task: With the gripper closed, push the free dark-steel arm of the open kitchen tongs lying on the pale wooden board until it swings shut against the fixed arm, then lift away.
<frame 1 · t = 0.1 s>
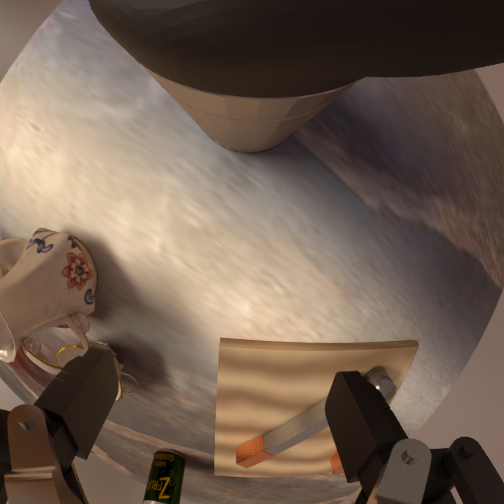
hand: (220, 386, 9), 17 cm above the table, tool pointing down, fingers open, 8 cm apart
beer can: (170, 454, 35), on the table
cutting board: (301, 425, 32), on the table
tong free arm: (312, 427, 28), point 4 cm above the table, hinge at 40.0°
chinaware: (61, 287, 26), on the table
tong fixed arm: (373, 375, 28), resting on cutting board
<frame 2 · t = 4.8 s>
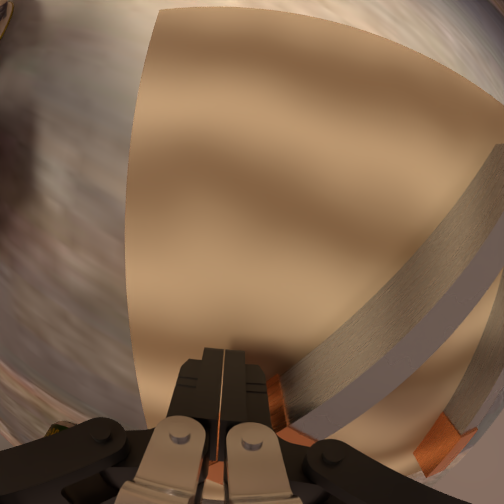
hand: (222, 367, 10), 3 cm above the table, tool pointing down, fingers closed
cutting board: (377, 352, 13), on the table
tong free arm: (436, 315, 8), point 4 cm above the table, hinge at 40.0°, touching gripper
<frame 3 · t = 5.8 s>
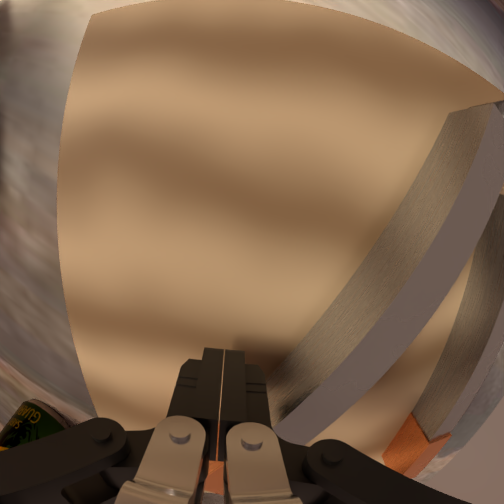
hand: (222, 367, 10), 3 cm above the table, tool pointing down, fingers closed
beer can: (50, 418, 15), on the table
cutting board: (319, 340, 13), on the table
tong free arm: (393, 327, 9), point 4 cm above the table, hinge at 28.3°, touching gripper
tong fixed arm: (477, 138, 9), resting on cutting board
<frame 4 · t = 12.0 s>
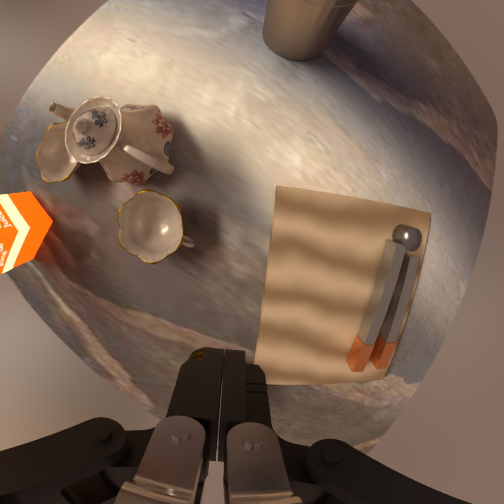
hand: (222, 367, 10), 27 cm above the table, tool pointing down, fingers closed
cutting board: (342, 300, 39), on the table
tong free arm: (385, 302, 35), point 4 cm above the table, hinge at 4.1°
orange juice: (31, 225, 34), on the table
chinaware: (128, 164, 33), on the table
tong fixed arm: (399, 234, 35), resting on cutting board
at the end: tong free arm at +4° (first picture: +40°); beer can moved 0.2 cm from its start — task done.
